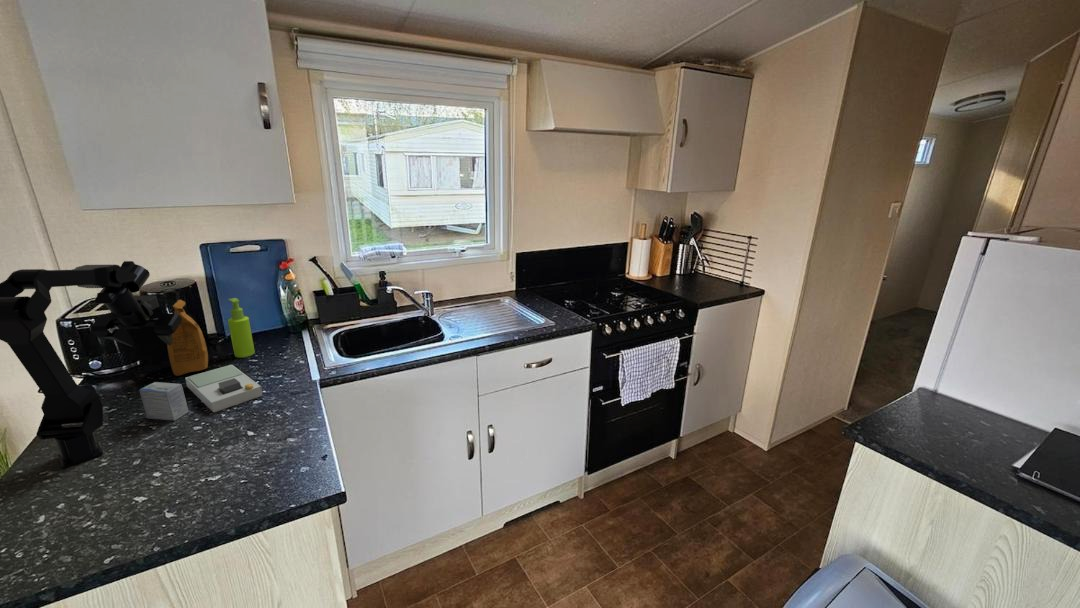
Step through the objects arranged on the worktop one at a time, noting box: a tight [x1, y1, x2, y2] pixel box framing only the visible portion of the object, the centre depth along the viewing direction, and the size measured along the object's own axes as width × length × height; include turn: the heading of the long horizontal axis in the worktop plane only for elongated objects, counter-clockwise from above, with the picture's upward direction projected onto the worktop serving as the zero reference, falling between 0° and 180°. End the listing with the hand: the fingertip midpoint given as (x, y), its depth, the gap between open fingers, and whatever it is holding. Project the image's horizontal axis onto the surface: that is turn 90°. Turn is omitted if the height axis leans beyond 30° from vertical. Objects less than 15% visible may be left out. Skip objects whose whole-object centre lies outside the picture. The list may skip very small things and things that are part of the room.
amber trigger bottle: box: [166, 299, 209, 377], centre depth 138 cm, size 10×12×22 cm
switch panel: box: [185, 364, 263, 413], centre depth 127 cm, size 22×12×4 cm, turn 52°
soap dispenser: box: [227, 297, 256, 358], centre depth 149 cm, size 6×7×20 cm
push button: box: [218, 378, 241, 395], centre depth 123 cm, size 4×4×3 cm
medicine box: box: [139, 381, 190, 421], centre depth 113 cm, size 8×4×9 cm, turn 84°
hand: (152, 344), depth 123 cm, fingers open, 9 cm apart
